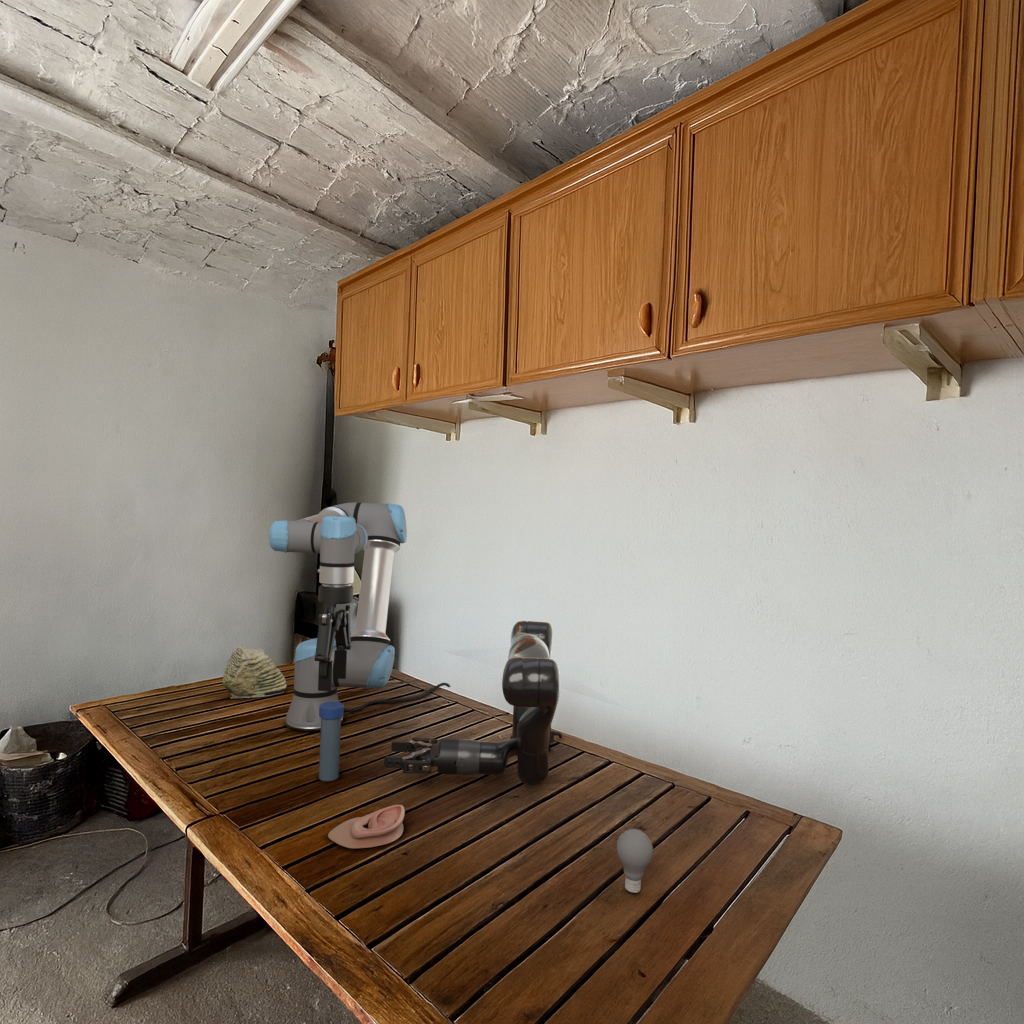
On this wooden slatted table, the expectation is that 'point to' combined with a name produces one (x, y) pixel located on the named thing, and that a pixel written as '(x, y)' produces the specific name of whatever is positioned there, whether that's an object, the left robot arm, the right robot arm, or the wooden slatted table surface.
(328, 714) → the lid
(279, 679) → the fossil
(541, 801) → the wooden slatted table surface
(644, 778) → the wooden slatted table surface
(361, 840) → the anatomical model
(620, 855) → the light bulb
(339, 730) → the jar
